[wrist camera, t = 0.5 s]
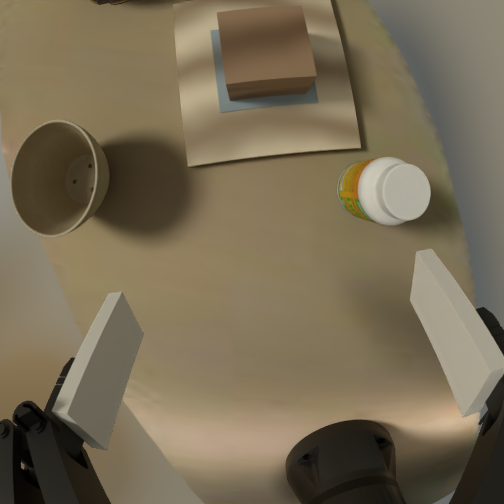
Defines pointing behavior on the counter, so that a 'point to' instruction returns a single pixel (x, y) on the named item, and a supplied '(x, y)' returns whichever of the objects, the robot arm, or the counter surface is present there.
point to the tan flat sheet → (263, 108)
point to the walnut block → (266, 52)
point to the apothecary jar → (111, 0)
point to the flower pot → (58, 178)
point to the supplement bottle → (384, 191)
